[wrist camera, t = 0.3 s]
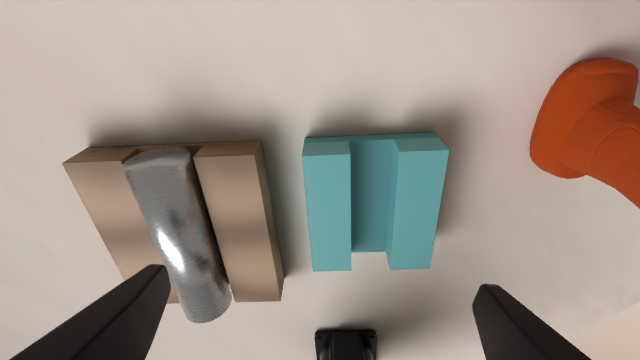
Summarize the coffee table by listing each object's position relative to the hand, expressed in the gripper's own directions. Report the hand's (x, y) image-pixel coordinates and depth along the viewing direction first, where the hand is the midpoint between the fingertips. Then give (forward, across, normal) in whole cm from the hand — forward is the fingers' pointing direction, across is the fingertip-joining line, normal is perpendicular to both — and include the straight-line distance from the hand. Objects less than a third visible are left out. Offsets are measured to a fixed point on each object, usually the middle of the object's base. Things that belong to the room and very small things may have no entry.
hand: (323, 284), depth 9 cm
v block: (+14, -4, +6) cm, 16 cm away
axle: (+12, +10, +9) cm, 18 cm away
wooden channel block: (+14, +10, +9) cm, 20 cm away
